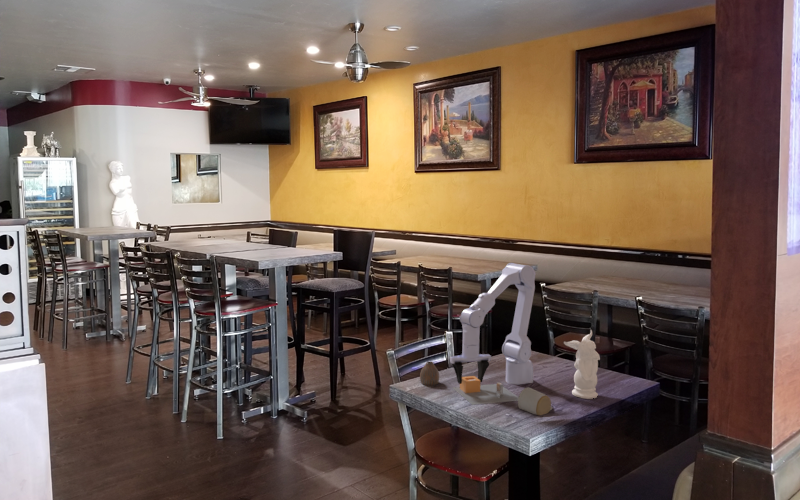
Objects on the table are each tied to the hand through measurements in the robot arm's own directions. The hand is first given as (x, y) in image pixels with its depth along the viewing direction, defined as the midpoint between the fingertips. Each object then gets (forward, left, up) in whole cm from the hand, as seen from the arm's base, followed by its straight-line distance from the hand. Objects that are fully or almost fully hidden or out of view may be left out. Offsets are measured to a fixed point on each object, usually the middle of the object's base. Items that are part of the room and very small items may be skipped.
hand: (469, 382), depth 214 cm
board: (-4, +5, -4) cm, 8 cm away
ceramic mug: (-13, +23, -4) cm, 27 cm away
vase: (+11, -11, -4) cm, 16 cm away
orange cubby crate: (0, 0, -3) cm, 3 cm away
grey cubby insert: (-7, +9, -3) cm, 12 cm away
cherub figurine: (-37, +10, -4) cm, 39 cm away
